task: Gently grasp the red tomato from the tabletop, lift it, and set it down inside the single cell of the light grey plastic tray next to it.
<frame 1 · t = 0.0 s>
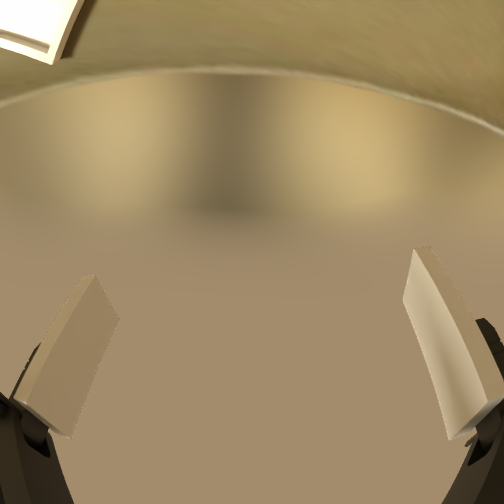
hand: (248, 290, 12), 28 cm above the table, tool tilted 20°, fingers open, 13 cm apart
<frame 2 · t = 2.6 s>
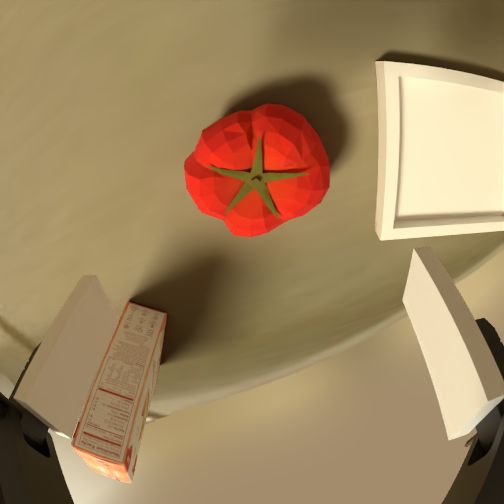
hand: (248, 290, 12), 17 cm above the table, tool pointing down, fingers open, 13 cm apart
tomato: (258, 157, 26), on the table
cracker box: (146, 335, 41), on the table
tray: (460, 152, 23), on the table
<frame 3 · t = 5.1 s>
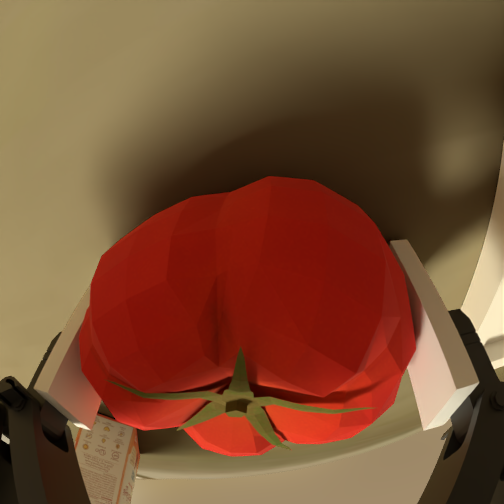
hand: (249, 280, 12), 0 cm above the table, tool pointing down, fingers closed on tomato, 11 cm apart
tomato: (248, 273, 12), on the table, touching gripper
cracker box: (118, 434, 28), on the table
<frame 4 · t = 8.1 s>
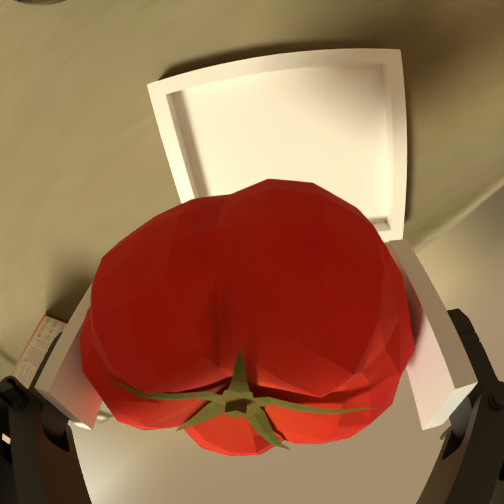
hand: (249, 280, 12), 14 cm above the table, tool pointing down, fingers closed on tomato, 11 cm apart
tomato: (248, 274, 13), point 14 cm above the table, touching gripper
cracker box: (68, 343, 42), on the table
tray: (290, 154, 23), on the table
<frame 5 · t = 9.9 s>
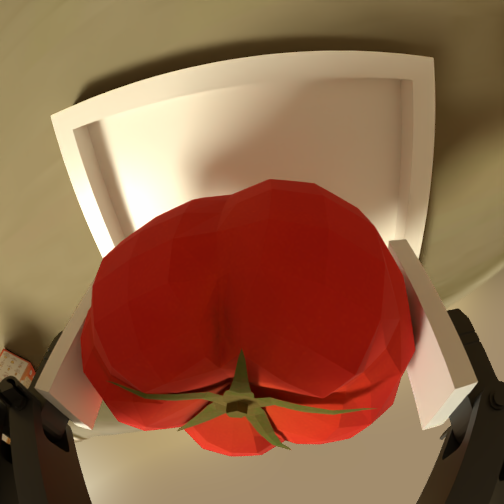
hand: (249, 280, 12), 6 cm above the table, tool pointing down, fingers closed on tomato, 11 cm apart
tomato: (249, 275, 13), point 5 cm above the table, touching gripper
cracker box: (30, 375, 35), on the table
tray: (254, 211, 17), on the table
when the fingers open (3 cm above the table, at t = 11.5 s): tomato drops 2 cm, resting on tray.
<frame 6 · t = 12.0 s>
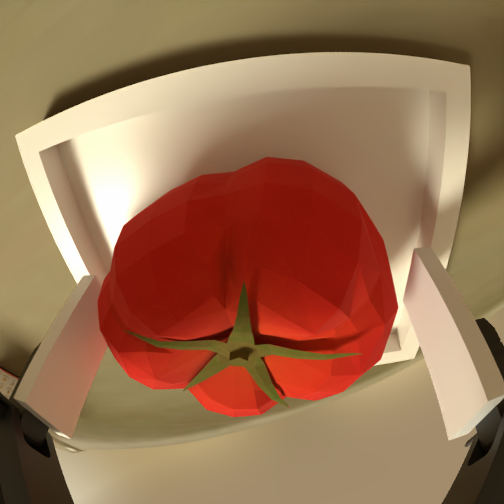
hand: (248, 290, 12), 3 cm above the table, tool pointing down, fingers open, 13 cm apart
tomato: (249, 249, 14), resting on tray
cracker box: (24, 391, 32), on the table
tray: (252, 244, 14), on the table
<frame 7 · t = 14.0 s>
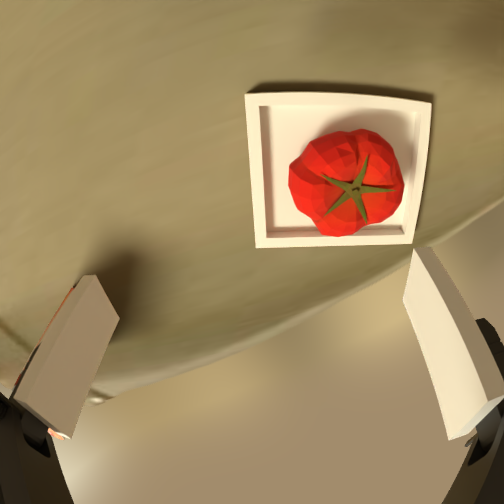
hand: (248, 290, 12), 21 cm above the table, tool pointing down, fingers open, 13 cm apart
tomato: (339, 170, 30), resting on tray
cracker box: (88, 318, 46), on the table
tray: (339, 169, 30), on the table
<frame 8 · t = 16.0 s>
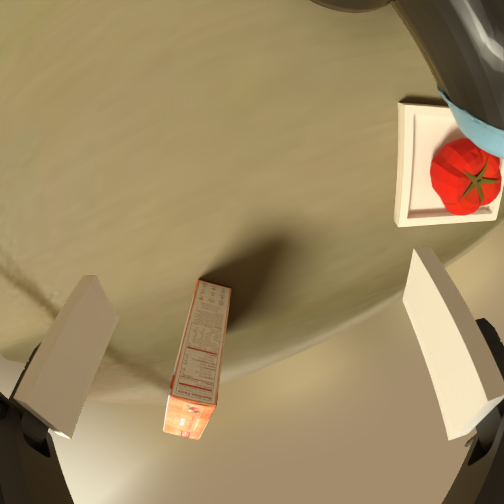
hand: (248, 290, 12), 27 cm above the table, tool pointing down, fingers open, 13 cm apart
tomato: (454, 165, 33), resting on tray
cracker box: (208, 310, 51), on the table
tray: (454, 164, 33), on the table
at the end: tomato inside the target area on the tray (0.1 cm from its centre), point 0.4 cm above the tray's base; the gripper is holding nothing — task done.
